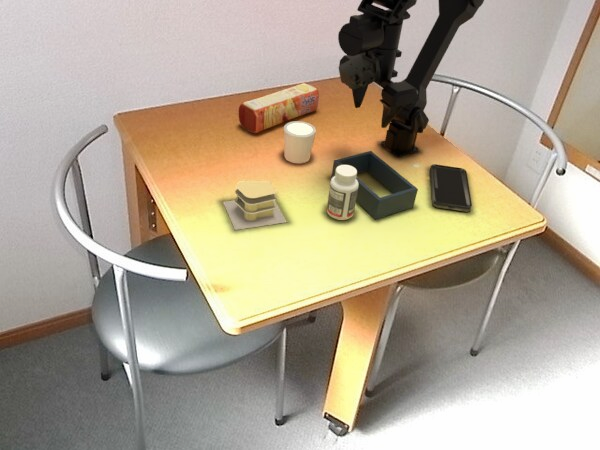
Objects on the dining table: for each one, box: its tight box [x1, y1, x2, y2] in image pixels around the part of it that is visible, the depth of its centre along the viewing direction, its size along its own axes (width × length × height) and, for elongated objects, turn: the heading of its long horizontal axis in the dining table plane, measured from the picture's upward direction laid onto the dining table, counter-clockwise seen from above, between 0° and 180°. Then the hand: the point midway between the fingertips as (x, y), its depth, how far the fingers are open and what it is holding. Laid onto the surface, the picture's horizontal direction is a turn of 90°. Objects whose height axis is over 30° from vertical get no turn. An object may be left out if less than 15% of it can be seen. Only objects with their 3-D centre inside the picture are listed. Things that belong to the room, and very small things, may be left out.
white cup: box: [283, 120, 317, 165], centre depth 133 cm, size 7×7×7 cm
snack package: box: [238, 82, 320, 134], centre depth 146 cm, size 21×7×7 cm, turn 135°
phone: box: [429, 163, 473, 213], centre depth 129 cm, size 8×1×15 cm
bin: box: [330, 150, 419, 220], centre depth 125 cm, size 10×16×4 cm, turn 32°
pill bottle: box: [326, 165, 359, 221], centre depth 117 cm, size 5×5×10 cm
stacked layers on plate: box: [222, 179, 287, 231], centre depth 116 cm, size 10×9×6 cm
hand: (370, 117), depth 127 cm, fingers open, 9 cm apart
